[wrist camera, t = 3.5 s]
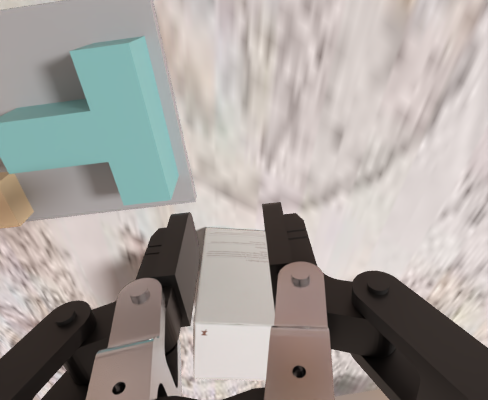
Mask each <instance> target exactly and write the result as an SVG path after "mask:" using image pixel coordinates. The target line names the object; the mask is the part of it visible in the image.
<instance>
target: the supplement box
mask: <svg viewBox="0 0 488 400" xmlns="http://www.w3.org/2000/svg"><path fill="white" fill-rule="evenodd" d="M274 319H275V310H274V301H273V293H272V285H271V276H270V268H269V259H268V251H267V243H266V234H265V231H255V230H238V229H221V228H206V229H205V236H204V244H203V252H202V260H201V268H200V276H199V284H198V292H197V299H196V307H195V315H194V327H193V354H194V379H217V380H249V381H266V373H267V362H268V351H269V340H270V330H271V326H274Z"/></svg>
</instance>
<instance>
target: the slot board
mask: <svg viewBox="0 0 488 400" xmlns="http://www.w3.org/2000/svg"><path fill="white" fill-rule="evenodd" d="M141 36H145V40H146V44H147V48H148V52H149V56H150V60H151V64H152V68H153V72H154V76H155V80H156V85H157V89H158V93H159V97H160V101H161V105H162V109H163V113H164V117H165V121H166V125H167V129H168V133H169V138H170V142H171V146H172V150H173V154H174V158H175V162H176V166H177V170H178V174H179V177H178V180H177V183H176V186H175V189H174V192H173V196H172V199H171V200H168V201H159V202H151V203H142V204H134V205H125V206H124V205H123V202H122V199H121V196H120V193H119V191H118V188H117V185H116V182H115V179H114V176H113V174H112V171H111V168H110V165H109V162H104V163H96V164H88V165H79V166H71V167H63V168H55V169H47V170H39V171H31V172H23V173H14V174H9V173H8V171H7V169H6V167H5V165H4V163H3V162H2V160H1V158H0V228H9V227H18V226H21V225H22V224H23V223H24V222H26V221H34V220H43V219H51V218H60V217H69V216H77V215H86V214H95V213H103V212H112V211H120V210H129V209H138V208H146V207H155V206H163V205H172V204H181V203H189V202H196V197H197V196H196V192H195V187H194V183H193V178H192V174H191V169H190V165H189V160H188V156H187V152H186V147H185V143H184V138H183V134H182V129H181V125H180V120H179V116H178V111H177V107H176V102H175V98H174V93H173V89H172V85H171V80H170V76H169V71H168V67H167V62H166V58H165V53H164V49H163V44H162V40H161V35H160V31H159V26H158V22H157V18H156V13H155V9H154V4H153V0H65V1H58V2H51V3H44V4H37V5H31V6H24V7H17V8H10V9H3V10H0V116H2V115H4V114H6V113H8V112H10V111H12V110H14V109H16V108H20V107H27V106H35V105H42V104H50V103H57V102H65V101H72V100H80V99H86V97H85V94H84V92H83V89H82V86H81V83H80V80H79V77H78V75H77V72H76V69H75V66H74V63H73V60H72V58H71V55H70V52H69V51H71V50H74V49H77V48H80V47H83V46H86V45H89V44H93V43H98V42H105V41H112V40H119V39H127V38H134V37H141Z"/></svg>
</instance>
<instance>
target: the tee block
mask: <svg viewBox="0 0 488 400" xmlns="http://www.w3.org/2000/svg"><path fill="white" fill-rule="evenodd" d="M69 52H70V55H71V58H72V60H73V63H74V66H75V69H76V72H77V75H78V77H79V80H80V83H81V86H82V89H83V92H84V94H85V97H86V99H80V100H72V101H65V102H57V103H50V104H42V105H35V106H27V107H20V108H16V109H14V110H12V111H10V112H8V113H6V114H4V115H2V116H0V158H1V160H2V162H3V163H4V165H5V167H6V169H7V171H8V173H9V174H14V173H23V172H31V171H39V170H47V169H55V168H63V167H71V166H79V165H88V164H96V163H104V162H109V165H110V168H111V171H112V174H113V176H114V179H115V182H116V185H117V188H118V191H119V193H120V196H121V199H122V202H123V205H124V206H125V205H134V204H142V203H151V202H159V201H168V200H171V199H172V196H173V192H174V189H175V186H176V183H177V180H178V177H179V174H178V170H177V166H176V162H175V158H174V154H173V150H172V146H171V142H170V138H169V133H168V129H167V125H166V121H165V117H164V113H163V109H162V105H161V101H160V97H159V93H158V89H157V85H156V80H155V76H154V72H153V68H152V64H151V60H150V56H149V52H148V48H147V44H146V40H145V36H141V37H134V38H127V39H119V40H112V41H105V42H98V43H93V44H89V45H86V46H83V47H80V48H77V49H74V50H71V51H69Z"/></svg>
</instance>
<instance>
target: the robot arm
mask: <svg viewBox="0 0 488 400" xmlns="http://www.w3.org/2000/svg"><path fill="white" fill-rule="evenodd" d="M262 207H263V216H264V225H265V234H266V243H267V251H268V259H269V268H270V276H271V285H272V293H273V301H274V310H275V319H274V326H271V330H270V340H269V351H268V362H267V373H266V384H265V388H256V389H251V390H249V391H246V392H243V393H240V394H237V395H235V396H232V397H229V398H226V399H223V400H335V396H334V384H333V371H332V358H331V349H334V350H339V351H344V352H348V353H351V355H352V357H353V358H354V360H355V361H356V362H357V363H358V364H359V365H360V366H361V368H362V369H363V370H364V371H365V372H366V373H367V374H368V376H369V377H370V378H371V379H372V380H373V381H374V382H375V384H376V385H377V386H378V387H379V388H380V389H381V390H382V391H383V393H384V394H385V395H386V396H387V397H388V398H389V399H390V400H488V348H487V347H486V346H484V345H483V344H482V343H481V342H479V341H478V340H477V339H475V338H474V337H473V336H471V335H470V334H469V333H467V332H466V331H465V330H463V329H462V328H461V327H460V326H458V325H457V324H456V323H454V322H453V321H452V320H450V319H449V318H448V317H446V316H445V315H444V314H442V313H441V312H440V311H439V310H437V309H436V308H435V307H433V306H432V305H431V304H429V303H428V302H427V301H425V300H424V299H423V298H421V297H420V296H419V295H418V294H416V293H415V292H414V291H412V290H411V289H410V288H408V287H407V286H406V285H404V284H403V283H402V282H400V281H399V280H398V279H396V278H395V277H394V276H392V275H390V274H387V273H385V272H380V271H367V272H363V273H361V274H359V275H357V276H356V277H355V279H354V280H353V282H350V281H343V280H337V279H334V278H331V277H329V276H327V275H325V274H324V273H323V272H322V271H321V269H320V268H319V267H317V264H316V261H315V257H314V254H313V251H312V247H311V244H310V241H309V238H308V234H307V231H306V227H305V224H304V220H303V219H302V218H300V217H299V216H298V215H297V214H296V213H293V214H284V215H283V211H282V206H281V202H277V203H268V204H262ZM199 261H200V249H199V243H198V239H197V235H196V231H195V226H194V222H193V218H192V215H191V213H190V212H189V213H180V214H172V215H171V216H170V219H169V222H168V226H167V228H159V229H158V230H157V231H156V232H155V233H154V234H153V235H152V237H151V238H150V241H149V244H148V248H147V250H146V252H145V256H144V258H143V261H142V264H141V266H140V269H139V272H138V275H137V278H136V280H135V281H133V282H131V283H129V284H128V285H126V286H125V287H124V288H123V289H122V290H121V291H120V293H119V295H118V297H117V301H115V302H113V303H110V304H108V305H105V306H102V307H99V308H96V309H93V310H91V308H90V306H89V304H88V303H86V302H84V301H72V302H68V303H65V304H63V305H61V306H59V307H57V308H56V309H54V310H53V311H52V312H51V313H50V314H49V315H47V316H46V317H45V318H44V319H43V320H42V321H41V322H40V323H39V324H38V325H37V326H35V327H34V328H33V329H32V330H31V331H30V332H29V333H28V334H27V335H26V336H25V337H23V338H22V339H21V340H20V341H19V342H18V343H17V344H16V345H15V346H14V347H13V348H12V349H10V350H9V351H8V352H7V353H6V354H5V355H4V356H3V357H2V358H1V359H0V400H33V398H34V396H35V395H36V394H37V393H38V392H39V391H40V390H41V388H42V387H43V386H44V385H45V384H46V383H47V382H48V381H49V380H50V379H51V378H52V376H53V375H54V374H55V373H56V372H57V371H58V370H59V369H60V368H61V367H62V365H63V366H64V367H65V369H66V370H67V371H66V372H65V373H64V374H63V375H62V377H61V378H60V379H59V380H58V381H57V382H56V383H55V384H54V385H53V387H52V388H51V389H50V390H49V391H48V392H47V393H46V394H45V396H44V397H43V398H42V399H41V400H197V399H191V398H186V397H182V383H181V344H180V340H179V333H180V327H185V326H190V325H191V317H192V310H193V303H194V296H195V289H196V282H197V275H198V268H199Z"/></svg>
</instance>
